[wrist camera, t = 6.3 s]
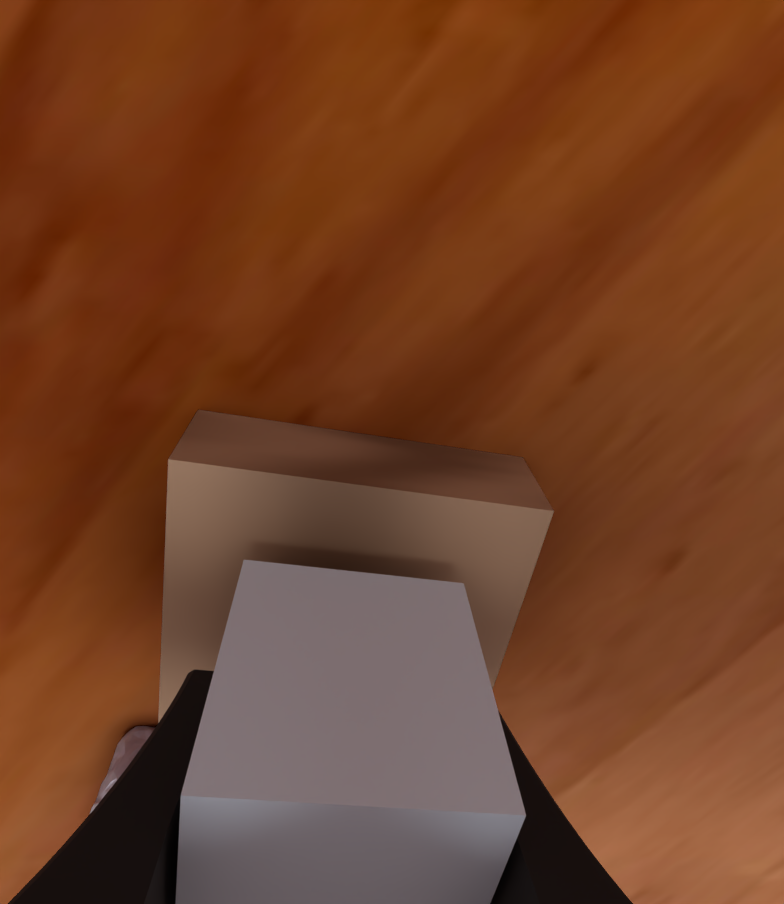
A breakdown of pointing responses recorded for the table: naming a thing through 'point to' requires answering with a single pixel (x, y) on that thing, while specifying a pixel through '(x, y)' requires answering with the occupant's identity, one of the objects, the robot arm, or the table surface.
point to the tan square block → (338, 524)
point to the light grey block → (347, 748)
